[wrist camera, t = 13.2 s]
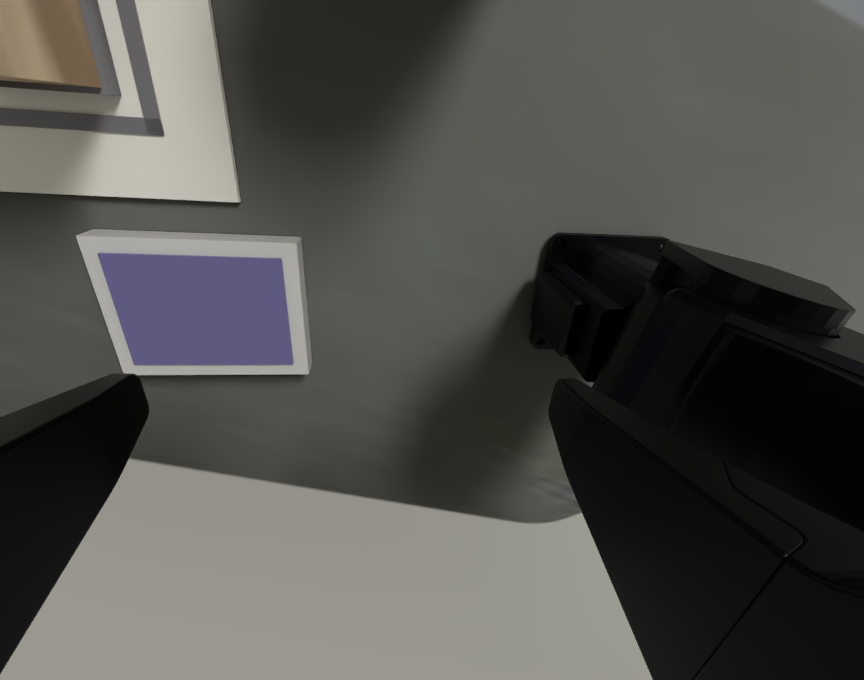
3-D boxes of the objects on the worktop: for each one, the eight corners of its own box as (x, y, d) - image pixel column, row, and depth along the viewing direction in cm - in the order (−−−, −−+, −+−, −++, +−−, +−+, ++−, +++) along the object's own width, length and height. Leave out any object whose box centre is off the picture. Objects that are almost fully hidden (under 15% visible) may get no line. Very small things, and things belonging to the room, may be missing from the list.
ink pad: (301, 236, 19) (295, 244, 18) (311, 362, 22) (308, 375, 21) (93, 229, 18) (73, 236, 17) (136, 362, 21) (122, 376, 20)
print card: (180, -201, 13) (174, -209, 12) (240, 201, 18) (238, 202, 18) (-289, -277, 11) (-309, -289, 11) (-65, 187, 17) (-74, 188, 16)
